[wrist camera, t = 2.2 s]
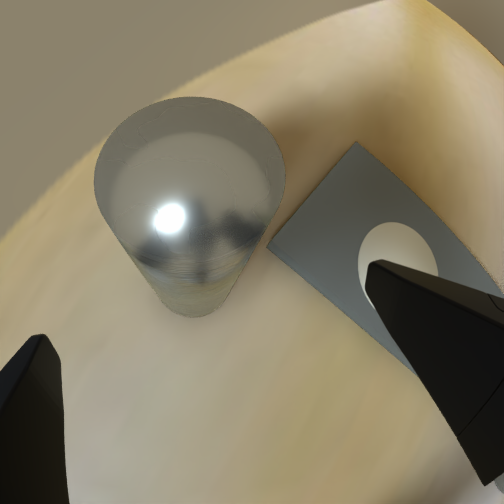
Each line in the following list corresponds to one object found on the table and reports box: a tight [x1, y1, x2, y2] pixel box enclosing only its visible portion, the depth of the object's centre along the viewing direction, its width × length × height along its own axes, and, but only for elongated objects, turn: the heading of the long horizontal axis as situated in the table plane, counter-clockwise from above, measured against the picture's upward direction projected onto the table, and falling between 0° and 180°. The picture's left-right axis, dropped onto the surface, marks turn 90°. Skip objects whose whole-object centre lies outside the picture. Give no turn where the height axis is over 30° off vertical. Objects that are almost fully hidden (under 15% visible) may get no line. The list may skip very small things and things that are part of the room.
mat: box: [267, 142, 504, 376], centre depth 20 cm, size 20×11×1 cm, turn 51°
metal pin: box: [94, 97, 285, 317], centre depth 12 cm, size 4×4×12 cm
